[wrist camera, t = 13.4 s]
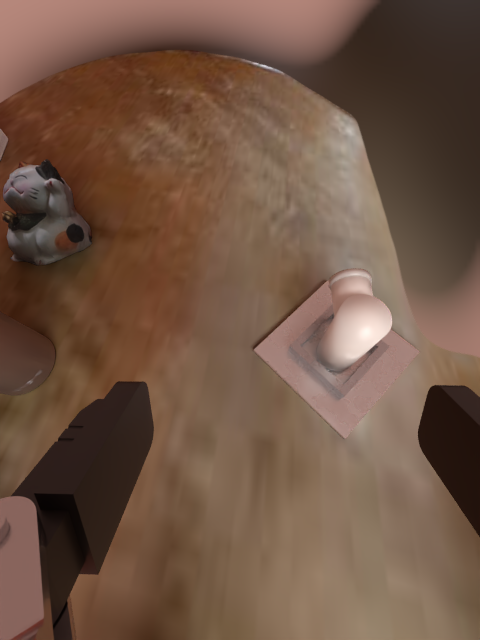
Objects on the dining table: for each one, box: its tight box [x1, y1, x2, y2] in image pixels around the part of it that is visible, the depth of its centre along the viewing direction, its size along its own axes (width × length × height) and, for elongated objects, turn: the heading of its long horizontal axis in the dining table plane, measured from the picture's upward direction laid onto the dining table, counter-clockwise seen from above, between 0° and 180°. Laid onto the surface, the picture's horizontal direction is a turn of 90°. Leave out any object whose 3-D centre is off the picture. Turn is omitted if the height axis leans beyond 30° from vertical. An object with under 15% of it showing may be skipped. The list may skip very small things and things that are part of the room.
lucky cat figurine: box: [2, 159, 92, 265], centre depth 47 cm, size 15×12×14 cm
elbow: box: [317, 269, 392, 371], centre depth 37 cm, size 9×5×12 cm, turn 179°
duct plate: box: [254, 280, 420, 439], centre depth 41 cm, size 16×16×3 cm
